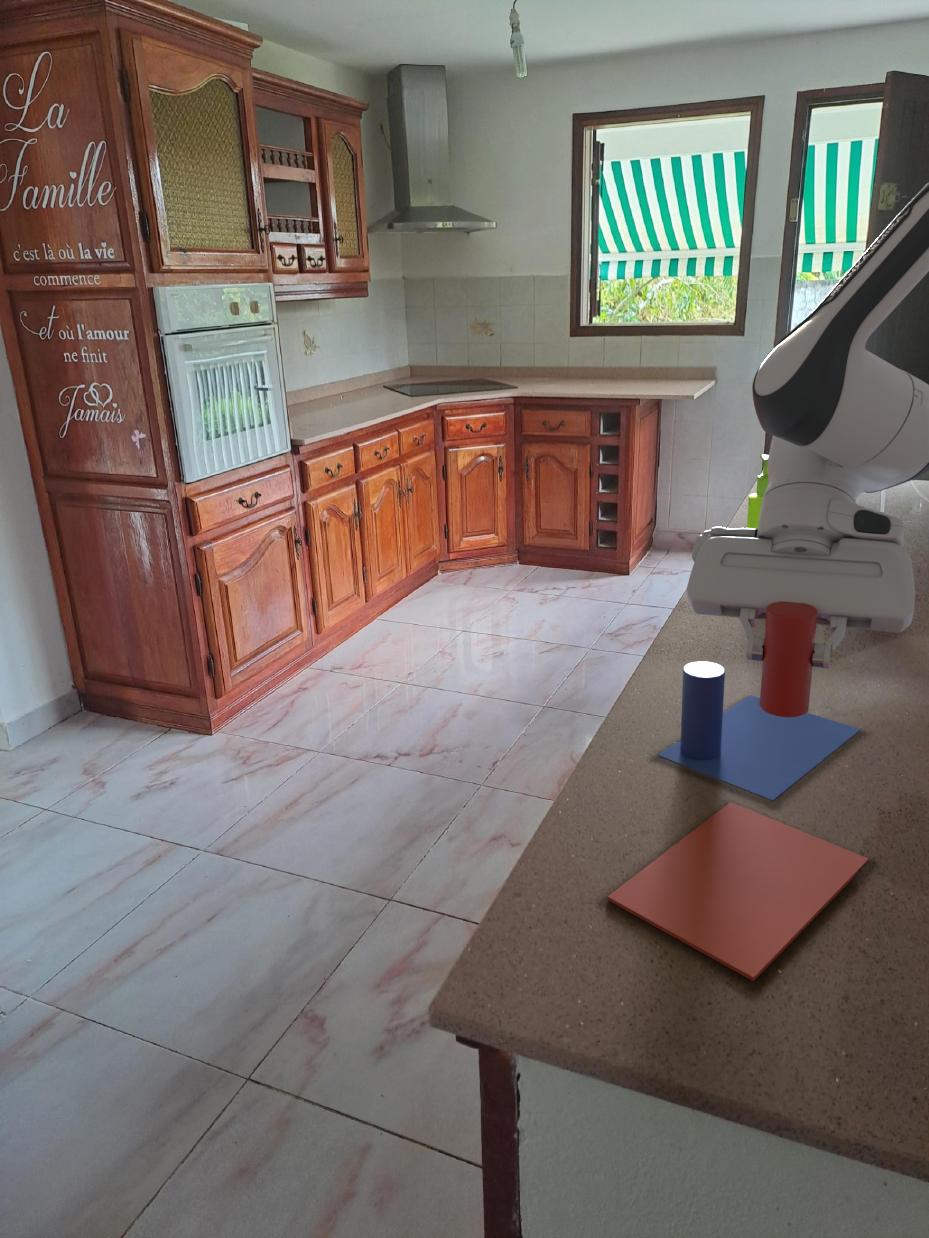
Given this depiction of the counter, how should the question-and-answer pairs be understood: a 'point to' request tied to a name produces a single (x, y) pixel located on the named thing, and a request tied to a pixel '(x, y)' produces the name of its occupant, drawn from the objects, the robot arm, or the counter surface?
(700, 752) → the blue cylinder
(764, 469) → the soap dispenser
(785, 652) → the red cylinder
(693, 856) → the terracotta mat
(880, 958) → the counter surface
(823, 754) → the blue mat
